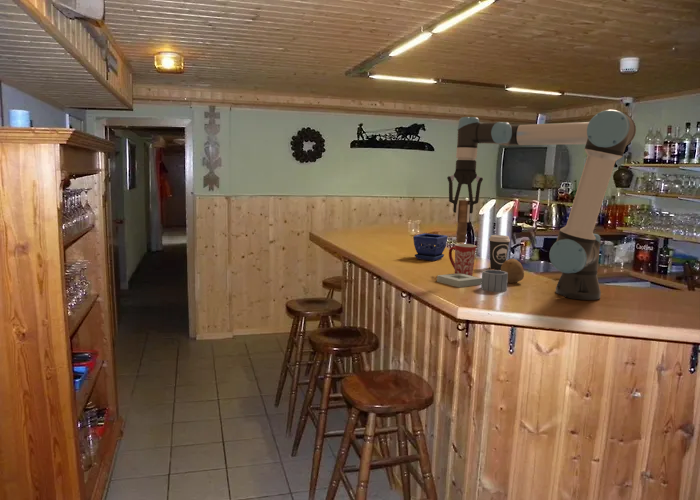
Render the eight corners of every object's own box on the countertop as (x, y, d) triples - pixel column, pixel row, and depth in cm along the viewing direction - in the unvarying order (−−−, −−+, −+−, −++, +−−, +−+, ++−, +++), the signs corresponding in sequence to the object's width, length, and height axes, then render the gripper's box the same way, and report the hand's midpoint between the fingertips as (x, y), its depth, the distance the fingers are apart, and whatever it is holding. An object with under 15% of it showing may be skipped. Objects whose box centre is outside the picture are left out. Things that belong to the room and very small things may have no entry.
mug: (479, 277, 226) (481, 245, 224) (464, 280, 221) (466, 247, 219) (456, 272, 236) (458, 242, 234) (441, 274, 231) (443, 243, 229)
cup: (511, 291, 201) (512, 273, 200) (494, 294, 196) (496, 275, 195) (492, 287, 208) (493, 269, 207) (476, 289, 203) (477, 270, 202)
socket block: (481, 285, 210) (481, 278, 209) (458, 288, 203) (459, 281, 203) (458, 280, 220) (459, 272, 219) (436, 282, 213) (437, 275, 212)
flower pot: (436, 262, 263) (437, 237, 261) (411, 259, 270) (412, 235, 268) (447, 258, 274) (448, 235, 272) (423, 256, 281) (424, 233, 279)
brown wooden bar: (467, 242, 209) (470, 200, 206) (461, 243, 207) (463, 200, 204) (461, 241, 211) (463, 200, 209) (454, 241, 209) (457, 200, 207)
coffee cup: (510, 268, 251) (513, 236, 249) (504, 271, 243) (507, 237, 241) (490, 265, 257) (492, 234, 254) (484, 268, 249) (486, 236, 246)
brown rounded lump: (498, 280, 222) (500, 256, 220) (521, 282, 220) (523, 257, 219) (500, 284, 213) (502, 259, 212) (524, 286, 211) (525, 261, 210)
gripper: (489, 160, 206) (484, 222, 209) (445, 159, 210) (441, 219, 214) (488, 159, 199) (484, 223, 202) (443, 158, 203) (439, 221, 206)
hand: (462, 221), depth 208 cm, fingers closed on brown wooden bar, 3 cm apart
